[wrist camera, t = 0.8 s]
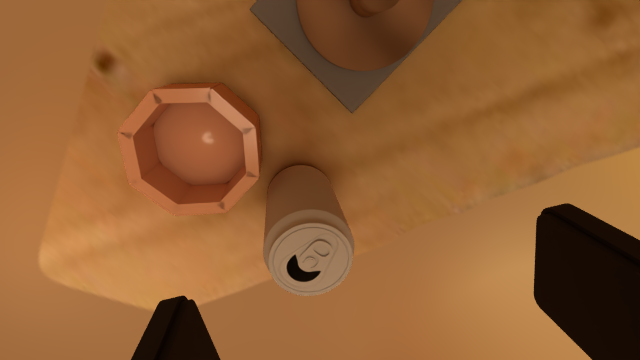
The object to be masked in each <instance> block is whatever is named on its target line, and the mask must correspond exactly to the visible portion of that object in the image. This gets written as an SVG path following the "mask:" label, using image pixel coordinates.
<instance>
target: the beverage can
mask: <svg viewBox="0 0 640 360" xmlns="http://www.w3.org/2000/svg"><path fill="white" fill-rule="evenodd" d="M353 253H354V240H353V236H352V233H351V231H350V228H349V226H348V224H347V221H346V219H345V217H344V214H343V212H342V209H341V207H340V205H339V202H338V200H337V198H336V195H335V193H334V190H333V188H332V186H331V183H330V181H329V180H328V178H327V177H326V176H325V175H324V174H323V173H322V172H321V171H319V170H318V169H316V168H314V167H311V166H306V165H296V166H291V167H288V168H286V169H284V170H282V171H281V172H279V173H278V174H277V175H276V176H275V177H274V178H273V180H272V181H271V183H270V185H269V188H268V192H267V205H266V219H265V233H264V247H263V255H264V261H265V263H266V265H267V267H268V269H269V271H270V273H271V275H272V277H273V279H274V280H275V282H276V283H277V284H278V285H279V286H280V287H282V288H283V289H285V290H286V291H288V292H290V293H293V294H297V295H302V296H312V295H319V294H322V293H325V292H327V291H330V290H332V289H333V288H335V287H337V286H338V285H339V284H340V283H341V282H342V281H343V280H344V279H345V278H346V276H347V275H348V273H349V271H350V268H351V265H352V260H353Z"/></svg>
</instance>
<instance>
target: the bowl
mask: <svg viewBox="0 0 640 360" xmlns="http://www.w3.org/2000/svg"><path fill="white" fill-rule="evenodd" d="M117 134H118V139H119V143H120V147H121V152H122V156H123V161H124V165H125V170H126V174H127V178H128V183H131V184H130V186H132V187H133V188H135V189H136V190H138V191H139V192H140V193H142V194H143V195H145V196H146V197H148V198H149V199H151V200H152V201H153V202H155V203H156V204H158V205H159V206H161V207H162V208H163V209H165V210H166V211H168V212H169V213H171V214H172V215H174V214H175V216H183V215H199V214H215V213H226V212H228V211H229V210H230V208H231V207H232V206H233V205H234V204H235V203H236V202H237V201H238V200H239V199H240V198H241V197H242V196H243V195H244V194H245V193H246V192H247V190H248V189H249V188H250V187H251V186H252V185H253V184H254V183H255V182H256V181H257V180H258V179H259V177H260V170H261V163H262V150H261V137H260V124H259V117H258V114H256V113H255V112H254V111H253V110H252V109H251V108H250V107H249V106H247V105H246V104H245V103H244V102H243V101H242V100H241V99H240V98H239V97H237V96H236V95H235V94H234V93H233V92H232V91H231V90H230V89H228V88H227V87H226V86H225V85H224V84H223V83H222V84H221V83H184V84H170V85H166V86H163V87H159V88H155V89H152V90H150V91H149V93H148V94H147V95H146V96H145V98H144V99H143V100H142V101H141V103H140V104H139V105H138V106H137V107H136V109H135V110H134V111H133V112H132V114H131V115H130V116H129V117H128V119H127V120H126V121H125V122H124V123H123V125H122V126H121V127H120V128H119V130H118V132H117Z"/></svg>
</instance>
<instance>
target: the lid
mask: <svg viewBox="0 0 640 360" xmlns="http://www.w3.org/2000/svg"><path fill="white" fill-rule="evenodd" d="M433 2H434V0H296V6H297V13H298V17H299V21H300V24H301V27H302V29H303V31H304V34H305V36H306V38H307V39H308V41H309V42H310V44H311V45H312V46H313V48H314V49H315V50H316V51H317V52H318V53H319V54H320V55H321V56H322V57H324V58H325V59H326V60H328V61H329V62H331V63H333V64H335V65H337V66H339V67H342V68H345V69H350V70H355V71H372V70H377V69H381V68H384V67H386V66H389V65H391V64H393V63H395V62H397V61H398V60H399V59H401V58H402V57H404V56H405V55H406V54H407V53H408V52H409V51H410V50H411V49H412V48H413V47H414V46H415V44H416V43H417V42H418V40H419V39H420V37H421V36H422V34H423V32H424V30H425V29H426V27H427V24H428V21H429V19H430V16H431V12H432V8H433Z"/></svg>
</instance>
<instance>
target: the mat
mask: <svg viewBox="0 0 640 360" xmlns="http://www.w3.org/2000/svg"><path fill="white" fill-rule="evenodd" d="M461 1H462V0H434V2H433V8H432V12H431V16H430V19H429V21H428V24H427V27H426V29H425V30H424V32H423V34H422V36H421V37H420V39H419V40H418V42H417V43H416V44H415V46H414V47H413V48H412V49H411V50H410V51H409V52H408V53H407V54H406V55H405V56H404V57H402V58H401V59H399V60H398V61H397V62H395V63H393V64H391V65H389V66H386V67H384V68H381V69H377V70H372V71H355V70H350V69H345V68H342V67H339V66H337V65H335V64H333V63H331V62H329V61H328V60H326V59H325V58H324V57H322V56H321V55H320V54H319V53H318V52H317V51H316V50H315V49H314V48H313V46H312V45H311V44H310V42H309V41H308V39H307V38H306V36H305V34H304V31H303V29H302V27H301V24H300V21H299V17H298V13H297V6H296V0H257V1H256V2H255V4H254V5H253V6H252V7H251V8H250V10H251V11H252V12H253V13H254V14H255V15H256V16H257V17H258V18H259V19H260V20H261V22H262V23H263V24H264V25H265V26H266V27H267V28H268V29H269V30H270V31H271V32H272V33H273V34H274V35H275V36H276V37H277V38H278V39H279V40H280V41H281V42H282V43H283V44H284V45H285V46H286V47H287V48H288V49H289V50H290V51H291V52H292V53H293V54H294V55H295V56H296V57H297V58H298V59H299V60H300V61H301V62H302V63H303V64H304V65H305V66H306V67H307V68H308V69H309V70H310V71H311V72H312V73H313V74H314V75H315V76H316V77H317V78H318V79H319V80H320V81H321V82H322V83H323V84H324V85H325V86H326V87H327V88H328V89H329V90H330V91H331V92H332V93H333V94H334V96H335V97H336V98H337V99H338V100H339V101H340V102H341V103H342V104H343V105H344V106H345V107H346V108H347V109H348V110H349V111H350V112H351V113H353V112H354V111H355V110H356V109H357V108H358V107H359V106H360V105H361V104H362V103H363V102H364V101H365V100H366V99H367V98H368V97H369V96H370V95H371V94H372V93H373V92H374V90H375V89H376V88H377V87H378V86H379V85H380V84H381V83H382V82H383V81H384V80H385V79H386V78H387V77H388V76H389V75H390V74H391V73H392V72H393V71H394V70H395V69H396V68H397V67H398V66H399V65H400V64H401V63H402V62H403V61H404V60H405V58H406V57H407V56H408V55H409V54H410V53H411V52H412V51H413V50H414V49H415V48H416V47H417V46H418V45H419V44H420V43H421V42H422V41H423V40H424V39H425V38H426V37H427V36H428V35H429V34H430V33H431V32H432V31H433V30H434V29H435V28H436V26H437V25H438V24H439V23H440V22H441V21H442V20H443V19H444V18H445V17H446V16H447V15H448V14H449V13H450V12H451V11H452V10H453V9H454V8H455V7H456V6H457V5H458V4H459V3H460V2H461Z"/></svg>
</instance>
